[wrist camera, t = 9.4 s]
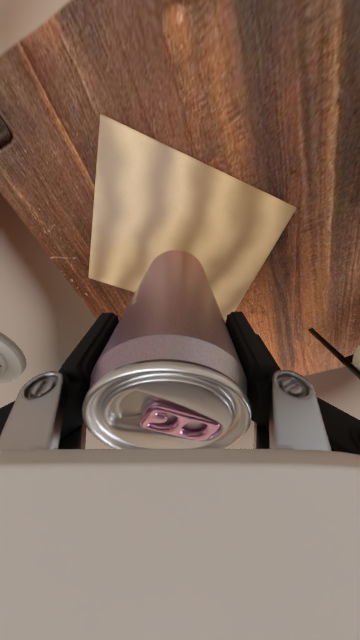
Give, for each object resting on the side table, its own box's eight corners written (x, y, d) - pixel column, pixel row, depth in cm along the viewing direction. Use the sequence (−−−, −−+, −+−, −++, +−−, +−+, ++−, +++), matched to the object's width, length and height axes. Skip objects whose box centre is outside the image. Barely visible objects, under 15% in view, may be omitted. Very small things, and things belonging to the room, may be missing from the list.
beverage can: (188, 310, 21) (201, 471, 8) (140, 290, 19) (63, 445, 7) (215, 264, 18) (302, 402, 5) (161, 237, 16) (94, 329, 4)
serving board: (93, 274, 28) (88, 277, 27) (106, 120, 19) (99, 113, 17) (226, 316, 32) (228, 321, 31) (289, 207, 23) (297, 207, 22)
